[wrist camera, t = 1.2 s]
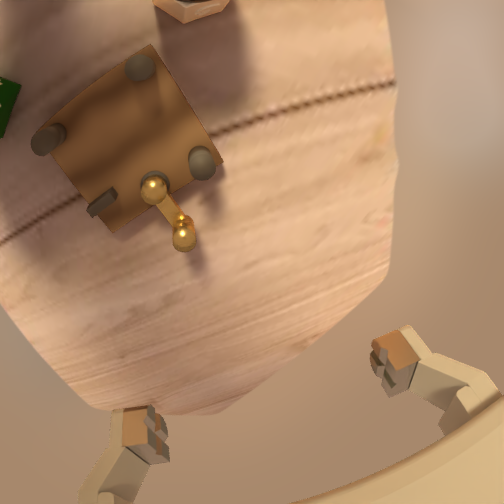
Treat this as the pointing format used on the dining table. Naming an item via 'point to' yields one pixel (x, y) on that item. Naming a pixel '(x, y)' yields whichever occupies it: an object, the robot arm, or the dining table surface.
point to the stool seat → (128, 138)
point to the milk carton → (7, 101)
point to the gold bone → (170, 212)
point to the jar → (190, 8)
